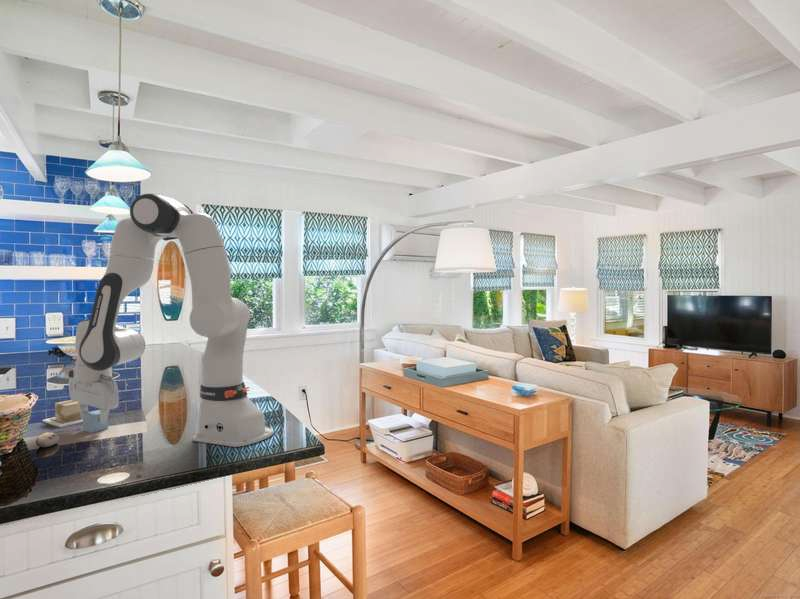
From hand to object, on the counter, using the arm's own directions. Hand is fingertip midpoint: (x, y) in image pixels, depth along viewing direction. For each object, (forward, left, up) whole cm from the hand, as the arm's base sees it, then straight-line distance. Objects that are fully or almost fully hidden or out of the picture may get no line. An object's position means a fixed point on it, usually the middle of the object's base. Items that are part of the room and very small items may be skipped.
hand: (93, 420), depth 134 cm
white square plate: (+16, -1, -3) cm, 16 cm away
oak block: (+16, -1, -2) cm, 16 cm away
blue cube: (0, 0, -3) cm, 3 cm away
